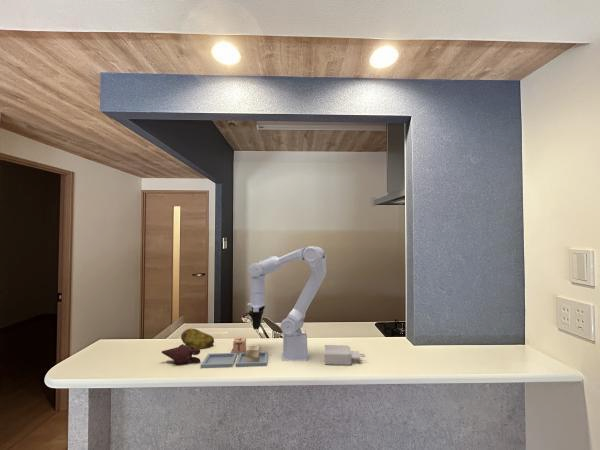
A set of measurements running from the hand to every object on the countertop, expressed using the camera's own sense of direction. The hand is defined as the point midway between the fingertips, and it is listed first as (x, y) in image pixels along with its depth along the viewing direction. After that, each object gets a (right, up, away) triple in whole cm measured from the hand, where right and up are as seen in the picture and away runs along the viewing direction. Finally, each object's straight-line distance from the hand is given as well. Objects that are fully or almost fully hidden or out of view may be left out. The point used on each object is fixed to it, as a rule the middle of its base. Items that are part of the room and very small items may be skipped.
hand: (257, 326), depth 116 cm
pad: (-7, -10, 0) cm, 12 cm away
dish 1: (-12, -10, -11) cm, 19 cm away
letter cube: (-7, -10, 0) cm, 12 cm away
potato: (-26, -11, +5) cm, 29 cm away
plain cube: (0, -9, -10) cm, 14 cm away
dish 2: (0, -10, -10) cm, 14 cm away
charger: (+34, -10, -10) cm, 37 cm away
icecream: (-26, -10, -11) cm, 30 cm away
